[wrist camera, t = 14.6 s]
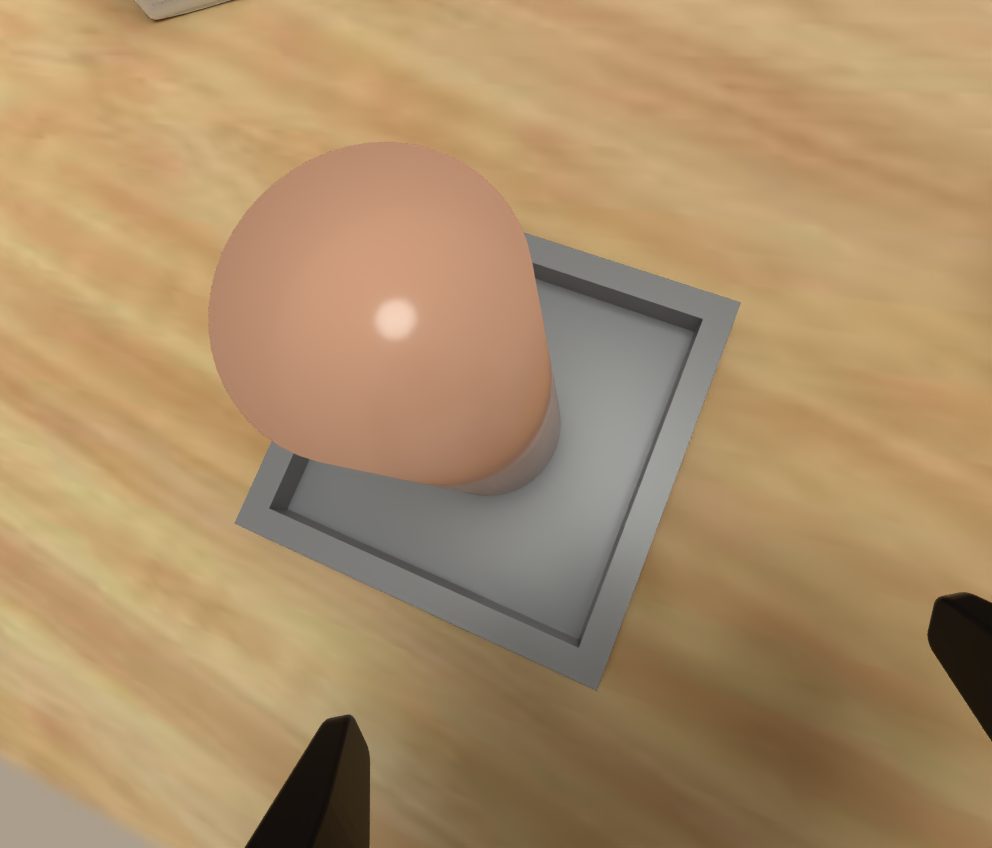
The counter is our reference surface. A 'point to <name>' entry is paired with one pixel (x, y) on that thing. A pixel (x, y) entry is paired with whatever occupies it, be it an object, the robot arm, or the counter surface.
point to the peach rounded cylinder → (389, 322)
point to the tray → (551, 495)
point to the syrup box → (173, 7)
